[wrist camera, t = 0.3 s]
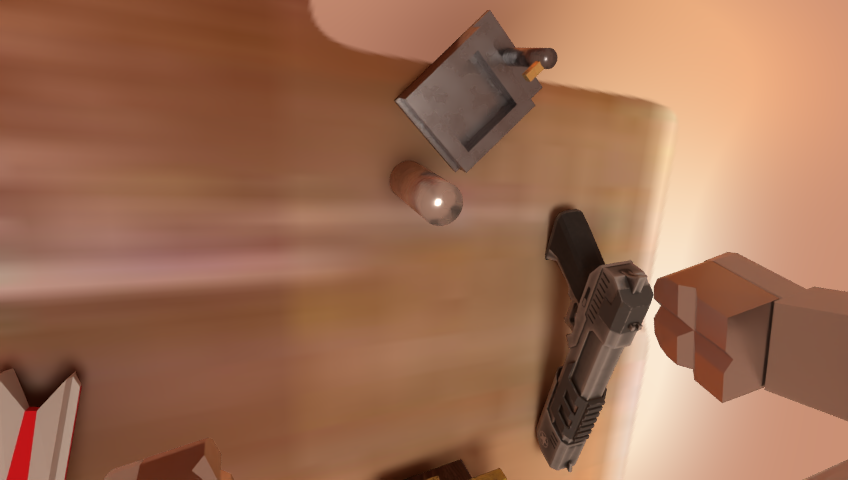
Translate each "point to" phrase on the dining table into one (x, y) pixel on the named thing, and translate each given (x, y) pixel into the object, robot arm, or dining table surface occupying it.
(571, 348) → the firearm
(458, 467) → the toy
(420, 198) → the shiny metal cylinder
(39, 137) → the dining table surface
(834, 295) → the robot arm
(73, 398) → the toy gun
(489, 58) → the keeper
